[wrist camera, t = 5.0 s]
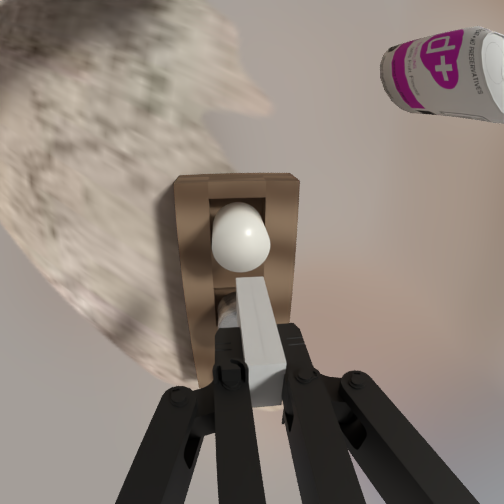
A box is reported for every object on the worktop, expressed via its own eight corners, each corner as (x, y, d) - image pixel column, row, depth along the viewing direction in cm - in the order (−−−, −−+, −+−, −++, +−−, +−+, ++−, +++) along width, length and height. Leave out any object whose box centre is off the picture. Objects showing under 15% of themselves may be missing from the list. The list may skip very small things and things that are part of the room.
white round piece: (211, 203, 25) (210, 219, 21) (262, 201, 26) (271, 217, 22) (214, 249, 27) (213, 273, 23) (261, 247, 28) (269, 271, 24)
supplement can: (368, 91, 26) (468, 86, 12) (387, 33, 23) (481, 3, 9) (422, 125, 28) (522, 145, 14) (439, 69, 25) (535, 67, 11)
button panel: (179, 175, 28) (173, 183, 25) (289, 173, 29) (299, 180, 26) (199, 366, 39) (199, 387, 36) (277, 362, 40) (282, 382, 37)
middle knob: (216, 292, 29) (216, 320, 25) (260, 290, 30) (267, 317, 26) (219, 326, 31) (219, 355, 27) (260, 324, 31) (265, 353, 27)
